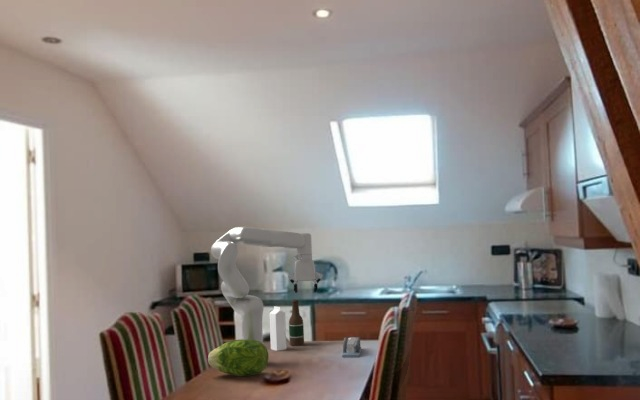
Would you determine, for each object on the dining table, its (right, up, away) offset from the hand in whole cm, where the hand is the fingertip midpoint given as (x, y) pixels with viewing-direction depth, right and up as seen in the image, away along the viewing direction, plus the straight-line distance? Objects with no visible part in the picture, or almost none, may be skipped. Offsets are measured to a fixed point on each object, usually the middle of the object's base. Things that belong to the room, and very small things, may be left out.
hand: (305, 292), depth 293 cm
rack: (+23, -29, -5) cm, 37 cm away
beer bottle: (-5, -32, +22) cm, 39 cm away
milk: (-14, -32, +12) cm, 37 cm away
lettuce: (-28, -30, -41) cm, 58 cm away
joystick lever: (+23, -28, -2) cm, 36 cm away
